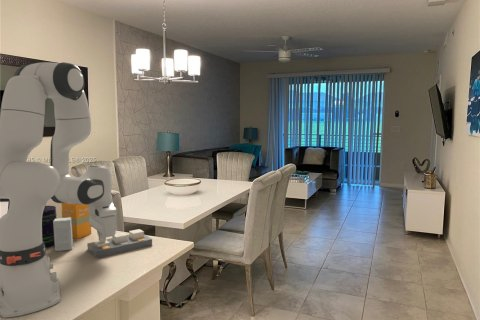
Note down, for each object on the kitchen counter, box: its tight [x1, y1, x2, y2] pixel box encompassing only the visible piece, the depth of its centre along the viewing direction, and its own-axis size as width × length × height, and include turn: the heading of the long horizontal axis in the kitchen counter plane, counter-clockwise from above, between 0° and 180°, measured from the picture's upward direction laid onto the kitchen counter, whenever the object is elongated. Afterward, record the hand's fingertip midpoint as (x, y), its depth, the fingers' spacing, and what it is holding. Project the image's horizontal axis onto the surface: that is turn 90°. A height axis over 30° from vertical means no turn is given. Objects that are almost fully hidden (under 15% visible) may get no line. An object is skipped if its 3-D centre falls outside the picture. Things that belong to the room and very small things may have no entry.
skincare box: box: [53, 217, 74, 252], centre depth 142 cm, size 6×4×12 cm
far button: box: [128, 228, 145, 240], centre depth 149 cm, size 4×4×3 cm
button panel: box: [87, 234, 153, 259], centre depth 145 cm, size 11×22×3 cm, turn 129°
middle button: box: [111, 231, 128, 244], centre depth 145 cm, size 4×4×3 cm
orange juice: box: [60, 203, 92, 239], centre depth 158 cm, size 8×9×20 cm
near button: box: [93, 240, 110, 248], centre depth 140 cm, size 4×4×3 cm
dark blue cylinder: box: [42, 205, 57, 249], centre depth 146 cm, size 10×10×15 cm
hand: (102, 241), depth 141 cm, fingers closed, pressing on near button
